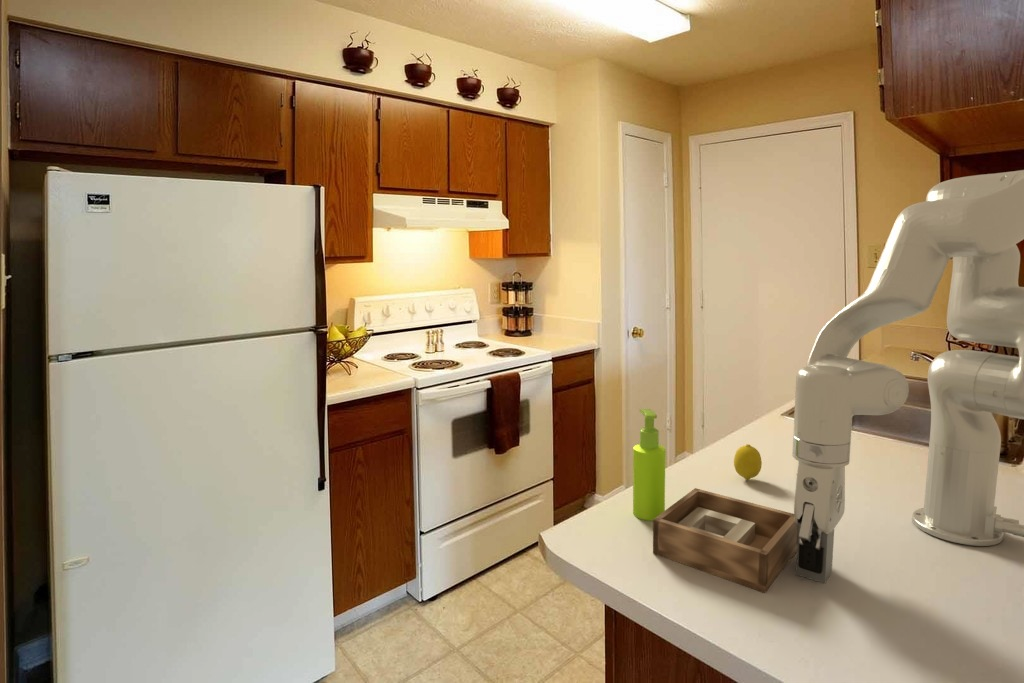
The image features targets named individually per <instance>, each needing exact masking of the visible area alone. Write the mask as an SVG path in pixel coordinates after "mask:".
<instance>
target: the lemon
mask: <svg viewBox="0 0 1024 683" xmlns="http://www.w3.org/2000/svg"><path fill="white" fill-rule="evenodd" d="M762 464H763V462H762V457H761V454H760V452H759V450H758V449H757V448H756V447H754V446H752V445H751V444H749V443H748V444H745V445H742V446H740V447H739V448H738V449H737V450H736V452H735V453H734V457H733V466H734V470H735V471H736V473H737V474H738V475H739V476H740V477H742V478H743V479H744V480H745V481H749V480H750V479H753V478H755V477H757V476H758V475H759V474H760V472H761V470H762Z"/></svg>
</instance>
